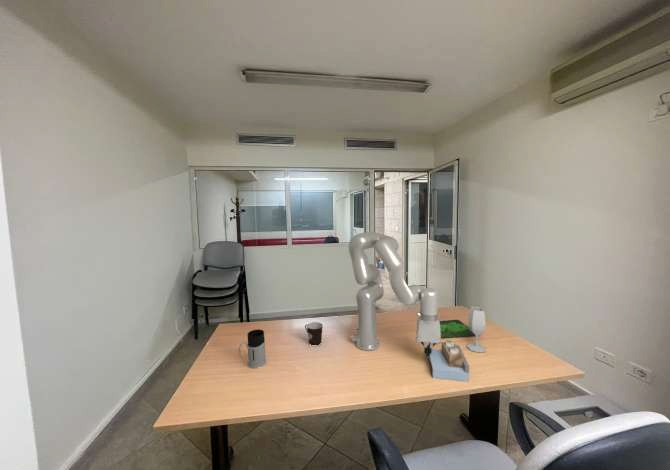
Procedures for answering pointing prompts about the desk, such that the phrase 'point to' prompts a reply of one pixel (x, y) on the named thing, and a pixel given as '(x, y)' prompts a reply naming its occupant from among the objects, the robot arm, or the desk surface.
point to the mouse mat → (454, 329)
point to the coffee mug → (314, 332)
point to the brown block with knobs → (452, 354)
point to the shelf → (444, 371)
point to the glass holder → (255, 348)
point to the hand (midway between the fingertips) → (427, 354)
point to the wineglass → (476, 327)
